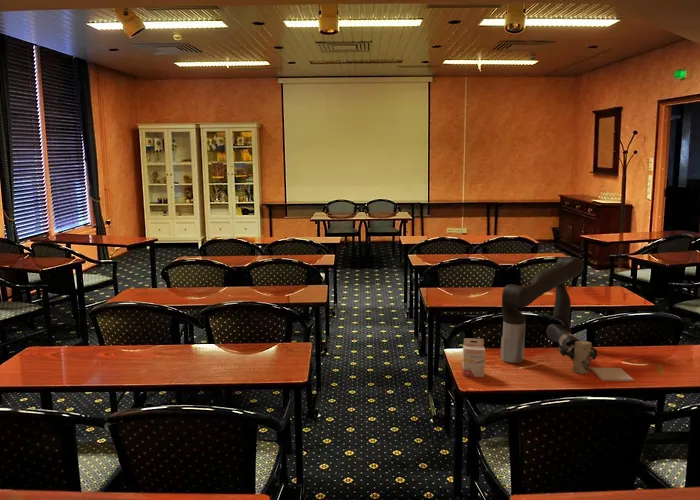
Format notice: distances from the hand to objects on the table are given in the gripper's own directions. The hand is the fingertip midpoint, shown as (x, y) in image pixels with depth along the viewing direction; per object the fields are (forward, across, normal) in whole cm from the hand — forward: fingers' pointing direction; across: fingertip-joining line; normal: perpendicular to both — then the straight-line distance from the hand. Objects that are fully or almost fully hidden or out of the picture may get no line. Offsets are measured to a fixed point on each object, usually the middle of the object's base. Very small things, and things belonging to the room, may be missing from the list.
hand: (584, 357), depth 226 cm
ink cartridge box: (+3, -45, +7) cm, 46 cm away
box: (-2, 0, +7) cm, 7 cm away
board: (+1, +11, +7) cm, 13 cm away
